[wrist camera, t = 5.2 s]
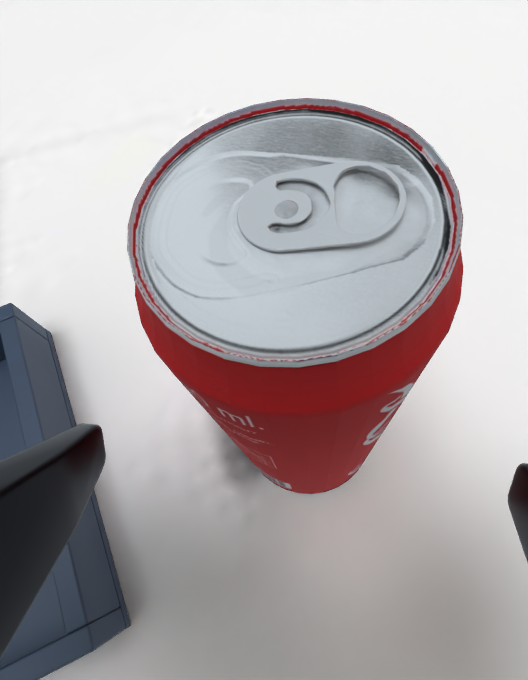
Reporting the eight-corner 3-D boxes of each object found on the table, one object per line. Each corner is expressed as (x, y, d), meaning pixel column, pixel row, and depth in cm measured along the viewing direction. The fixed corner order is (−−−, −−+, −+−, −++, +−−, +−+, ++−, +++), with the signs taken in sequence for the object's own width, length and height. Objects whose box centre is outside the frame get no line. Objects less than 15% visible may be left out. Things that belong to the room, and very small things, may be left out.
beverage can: (355, 510, 18) (562, 487, 4) (214, 470, 19) (22, 350, 5) (377, 383, 20) (560, 101, 7) (249, 353, 21) (177, 55, 8)
